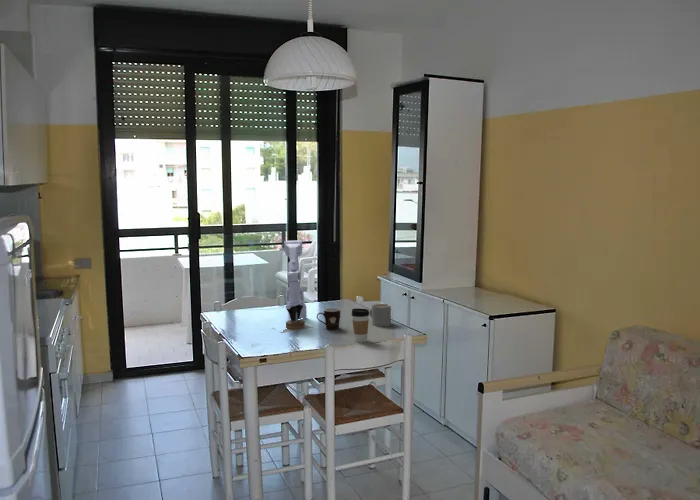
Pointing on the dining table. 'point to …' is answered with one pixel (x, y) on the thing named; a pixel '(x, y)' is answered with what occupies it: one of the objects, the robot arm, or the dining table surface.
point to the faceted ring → (295, 325)
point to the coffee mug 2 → (381, 314)
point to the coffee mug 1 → (331, 318)
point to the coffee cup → (360, 324)
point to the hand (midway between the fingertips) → (295, 320)
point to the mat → (295, 330)
